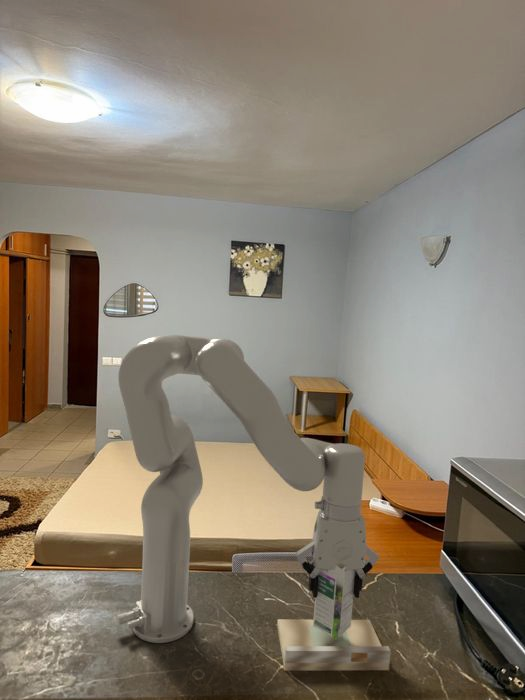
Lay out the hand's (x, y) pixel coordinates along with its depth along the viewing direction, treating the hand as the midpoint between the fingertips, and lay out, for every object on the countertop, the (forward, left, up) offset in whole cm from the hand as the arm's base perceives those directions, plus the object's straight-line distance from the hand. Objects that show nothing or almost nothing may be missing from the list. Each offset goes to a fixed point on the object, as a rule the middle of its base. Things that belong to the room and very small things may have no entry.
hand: (334, 593), depth 90 cm
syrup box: (0, 0, -7) cm, 7 cm away
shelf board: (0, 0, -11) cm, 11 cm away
